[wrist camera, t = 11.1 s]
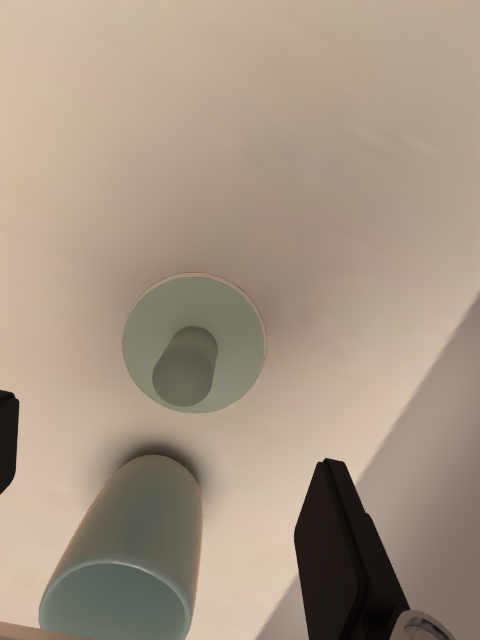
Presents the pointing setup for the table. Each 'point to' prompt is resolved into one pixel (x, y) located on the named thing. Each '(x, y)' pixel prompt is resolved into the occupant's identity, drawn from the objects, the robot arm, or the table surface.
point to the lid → (193, 345)
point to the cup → (131, 558)
